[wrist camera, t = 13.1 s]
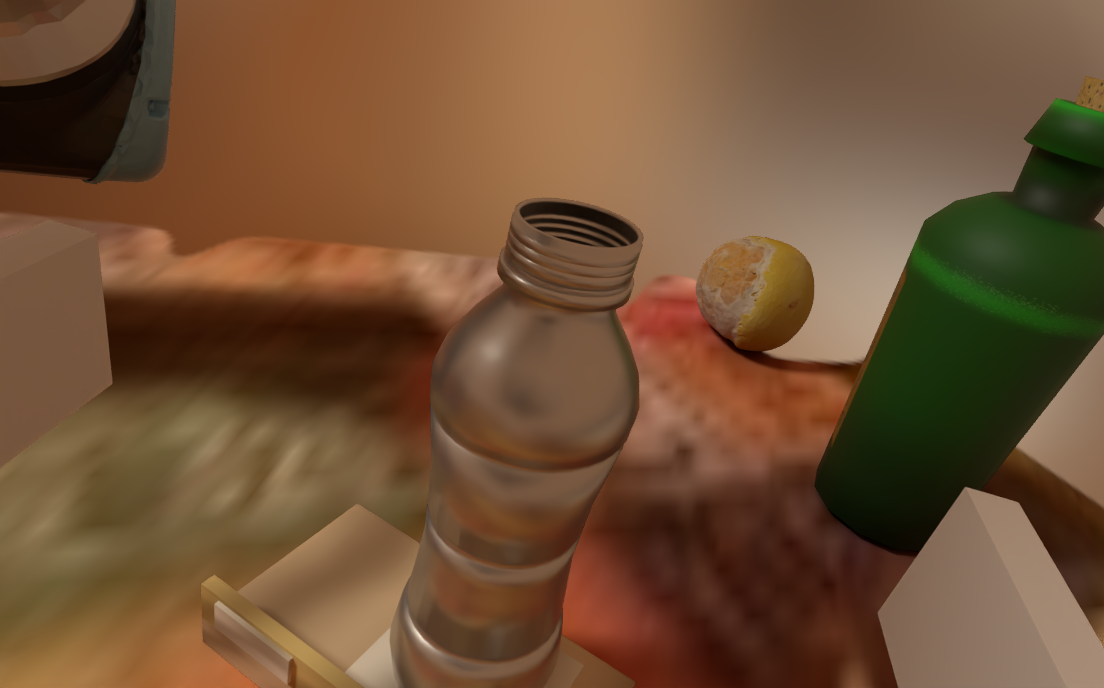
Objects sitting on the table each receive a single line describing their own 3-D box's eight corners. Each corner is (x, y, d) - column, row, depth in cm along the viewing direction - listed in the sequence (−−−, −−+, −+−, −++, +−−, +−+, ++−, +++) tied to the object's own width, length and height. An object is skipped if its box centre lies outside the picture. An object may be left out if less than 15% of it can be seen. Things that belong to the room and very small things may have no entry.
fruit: (741, 310, 73) (778, 218, 68) (812, 369, 65) (859, 270, 60) (658, 311, 68) (691, 213, 63) (722, 375, 60) (766, 267, 55)
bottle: (927, 480, 53) (1166, 95, 39) (980, 590, 44) (1317, 135, 30) (786, 441, 53) (975, 46, 40) (809, 542, 44) (1066, 72, 30)
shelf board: (198, 644, 30) (196, 586, 28) (354, 525, 37) (360, 473, 36) (518, 903, 24) (539, 851, 23) (626, 703, 32) (649, 652, 30)
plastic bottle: (571, 726, 29) (745, 277, 19) (403, 779, 25) (510, 274, 16) (512, 597, 33) (627, 187, 24) (365, 629, 30) (429, 171, 21)
